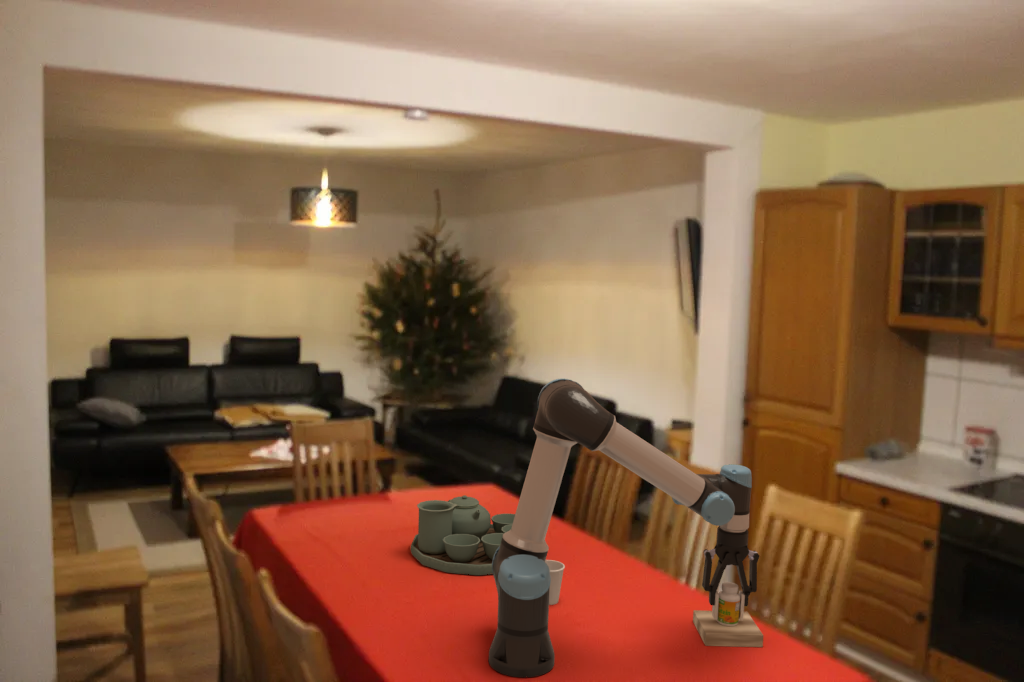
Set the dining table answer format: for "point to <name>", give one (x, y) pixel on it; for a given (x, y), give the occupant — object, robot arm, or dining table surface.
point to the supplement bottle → (728, 604)
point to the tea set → (458, 535)
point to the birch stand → (727, 631)
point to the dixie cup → (555, 580)
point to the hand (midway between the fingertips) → (727, 617)
